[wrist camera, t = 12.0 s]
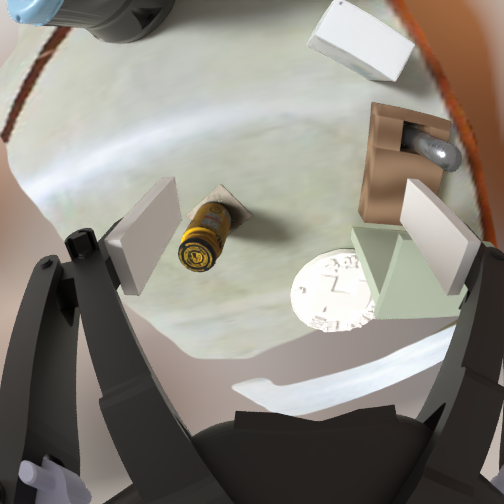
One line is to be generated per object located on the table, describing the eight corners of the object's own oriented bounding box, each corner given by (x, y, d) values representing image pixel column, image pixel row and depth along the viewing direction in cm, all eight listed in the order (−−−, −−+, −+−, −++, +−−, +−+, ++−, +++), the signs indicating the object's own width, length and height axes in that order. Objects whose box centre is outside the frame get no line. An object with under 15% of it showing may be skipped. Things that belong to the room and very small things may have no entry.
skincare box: (304, 47, 31) (313, 34, 22) (322, 14, 27) (336, -7, 19) (369, 82, 33) (396, 83, 24) (386, 50, 29) (417, 43, 20)
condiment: (186, 215, 47) (162, 254, 37) (220, 183, 44) (202, 217, 34) (216, 243, 50) (201, 287, 40) (252, 214, 46) (243, 256, 36)
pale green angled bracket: (357, 176, 41) (402, 239, 25) (431, 186, 40) (495, 247, 24) (347, 237, 47) (375, 319, 31) (416, 241, 46) (462, 315, 30)
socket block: (371, 101, 34) (380, 103, 31) (438, 117, 33) (451, 121, 30) (358, 211, 44) (364, 222, 41) (419, 217, 43) (428, 228, 40)
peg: (394, 142, 37) (437, 169, 25) (396, 122, 35) (442, 142, 23) (412, 145, 37) (458, 174, 25) (414, 126, 35) (463, 148, 23)
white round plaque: (330, 227, 47) (332, 236, 44) (406, 273, 50) (411, 282, 48) (272, 303, 57) (271, 313, 55) (346, 334, 61) (348, 343, 58)
